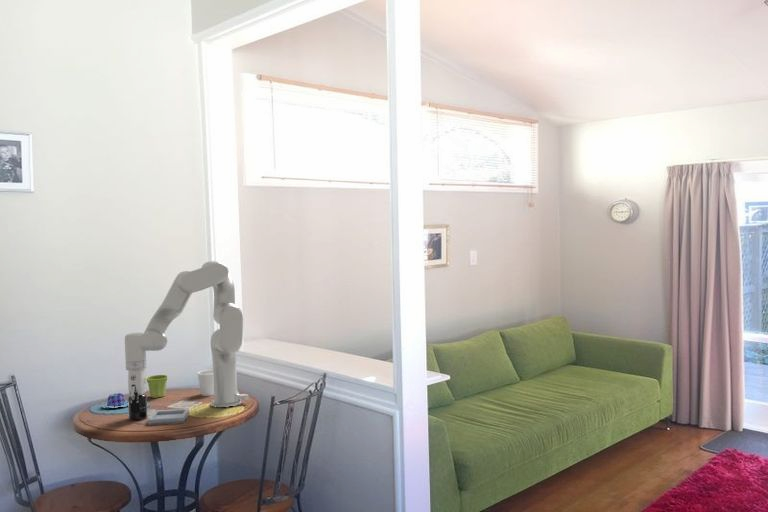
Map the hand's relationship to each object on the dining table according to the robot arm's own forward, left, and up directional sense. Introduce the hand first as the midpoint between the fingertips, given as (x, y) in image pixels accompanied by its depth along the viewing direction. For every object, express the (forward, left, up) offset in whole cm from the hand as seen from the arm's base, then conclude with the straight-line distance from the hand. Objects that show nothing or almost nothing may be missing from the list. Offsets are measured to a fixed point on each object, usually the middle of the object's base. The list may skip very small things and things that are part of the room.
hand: (137, 410), depth 260 cm
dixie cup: (-22, -35, -4) cm, 41 cm away
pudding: (+14, -22, -4) cm, 26 cm away
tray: (-13, +4, -3) cm, 14 cm away
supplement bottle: (0, 0, -3) cm, 3 cm away
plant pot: (0, -36, -4) cm, 36 cm away
